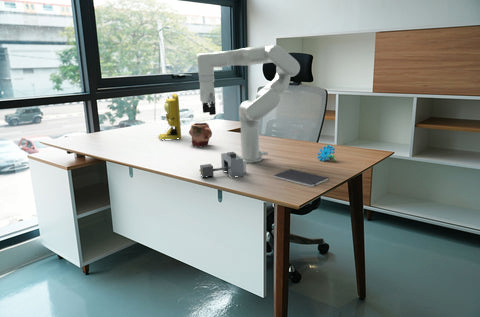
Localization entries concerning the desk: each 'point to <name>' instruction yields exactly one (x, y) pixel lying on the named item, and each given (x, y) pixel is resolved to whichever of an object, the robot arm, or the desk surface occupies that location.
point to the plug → (208, 169)
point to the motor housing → (232, 163)
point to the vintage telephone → (172, 118)
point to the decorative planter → (200, 134)
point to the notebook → (301, 177)
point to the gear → (326, 153)
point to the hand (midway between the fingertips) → (209, 113)
